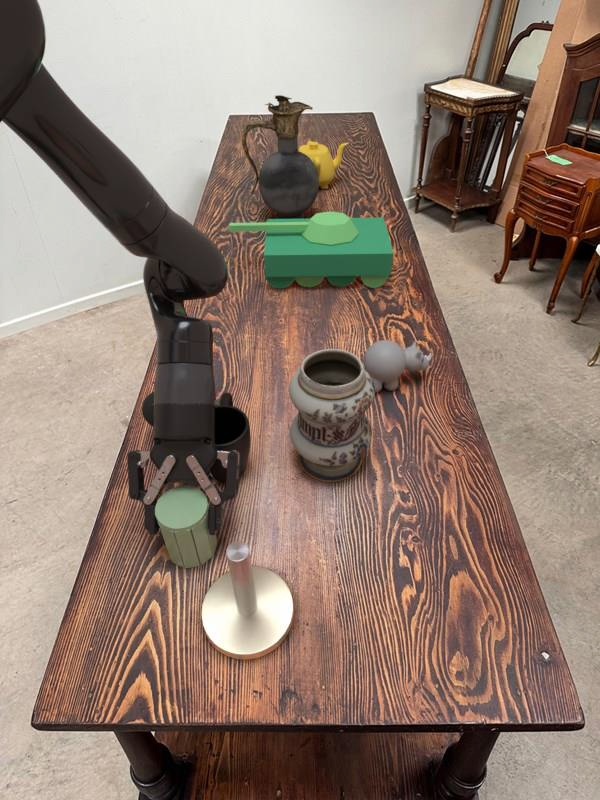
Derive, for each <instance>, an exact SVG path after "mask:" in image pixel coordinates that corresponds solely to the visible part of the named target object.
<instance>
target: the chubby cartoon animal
mask: <svg viewBox="0 0 600 800" xmlns="http://www.w3.org/2000/svg"><path fill="white" fill-rule="evenodd" d="M417 342H418V341H417V340H414V342H412V344H411V345H410V346H408V347H405V348H404V349H403V348H402V346H401V345H400V344H398V343H397V342H396V341H393V340H391V339H390V340H389V339H382V340H381V339H380V340H377V341H375V342H373V343H372V344H371V345H370V346H369V347H368V348H367V349H366V351H365V353H364V354H363V366H364V369H365V370H366V371H367V372H368V373H369V375H370V376H371V378H372V380H373V382H374V385H375V393H378V392H380V391H381V390H382V389H383V388H384V389H385V390H387V391H388V392H389V391H391V392H393V391H395V390H396V391H397V389H398V388H399V385H400V384H399V382H400V381H399V377H401V375H402V374H403V372H404V371H405V370H406V371H409V372H414V371H420V372H423V371H425V370H427V369H428V368H429V367H430V362H431V360H432V358H433V355H432V352H430V351H429V352H430V353H429V354H428V355H427V354H425V355H424V353H423V352H422V350H421V348H419V347H417V344H418V343H417Z"/></svg>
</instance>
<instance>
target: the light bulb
mask: <svg viewBox="0 0 600 800" xmlns="http://www.w3.org/2000/svg"><path fill="white" fill-rule="evenodd" d="M141 414H142V417H143V418H144V420H145V422H146V423H147V424H148V425H149V426H151V427H152V428H154V391H152V392H150V393H148V395H146V396H145V398H144V399H143V402H142V405H141Z"/></svg>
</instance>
